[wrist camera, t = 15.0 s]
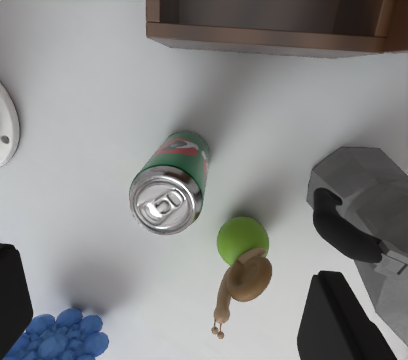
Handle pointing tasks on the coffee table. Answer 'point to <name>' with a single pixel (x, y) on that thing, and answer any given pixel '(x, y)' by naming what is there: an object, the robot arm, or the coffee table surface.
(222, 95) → the coffee table surface
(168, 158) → the soda can
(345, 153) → the coffeepot
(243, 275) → the snail figurine
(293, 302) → the coffee table surface
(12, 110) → the robot arm
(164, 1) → the chest
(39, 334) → the grapes
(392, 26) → the lid
